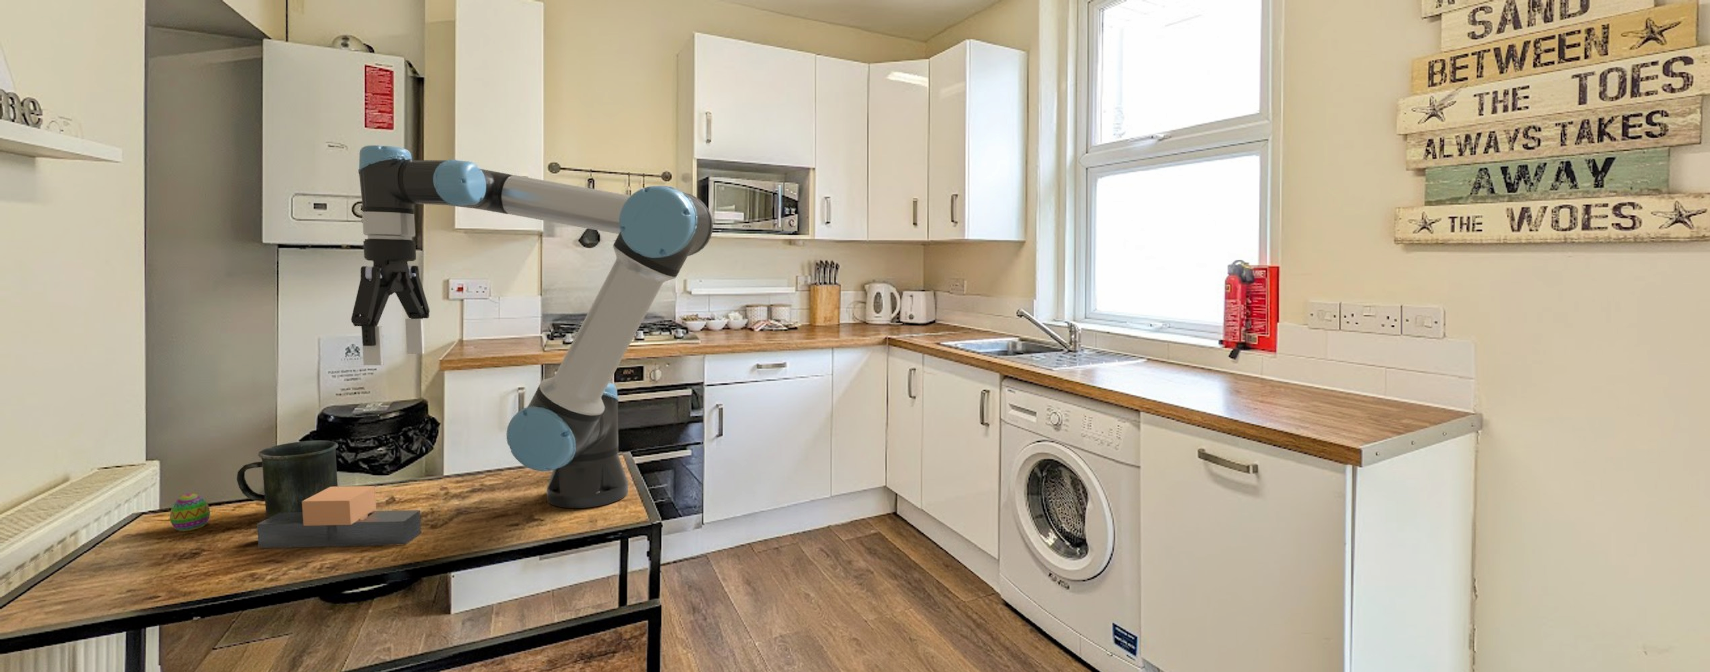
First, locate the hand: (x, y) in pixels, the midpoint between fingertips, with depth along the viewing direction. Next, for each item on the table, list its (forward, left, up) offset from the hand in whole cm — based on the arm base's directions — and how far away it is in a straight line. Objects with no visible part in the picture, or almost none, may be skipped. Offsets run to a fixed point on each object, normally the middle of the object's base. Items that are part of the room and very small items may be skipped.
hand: (395, 359), depth 122 cm
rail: (+4, +11, -29) cm, 31 cm away
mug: (+20, -2, -29) cm, 35 cm away
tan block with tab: (+4, +11, -28) cm, 30 cm away
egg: (+32, +4, -29) cm, 43 cm away
